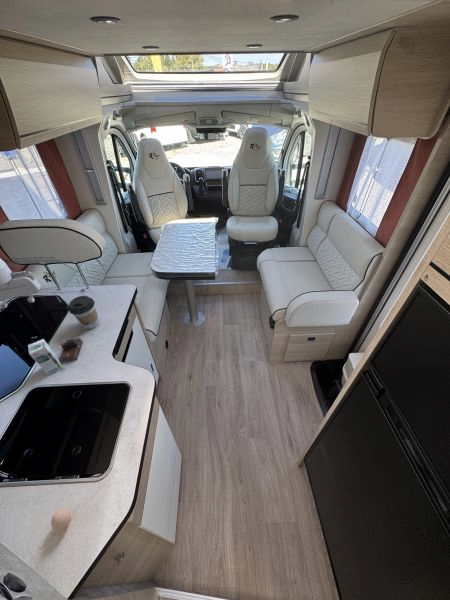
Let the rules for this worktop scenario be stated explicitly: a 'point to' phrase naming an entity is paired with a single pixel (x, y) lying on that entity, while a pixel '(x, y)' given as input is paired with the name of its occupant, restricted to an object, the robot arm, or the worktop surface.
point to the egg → (61, 519)
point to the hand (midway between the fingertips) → (19, 304)
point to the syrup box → (44, 356)
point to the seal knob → (68, 345)
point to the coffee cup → (84, 311)
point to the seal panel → (72, 351)
